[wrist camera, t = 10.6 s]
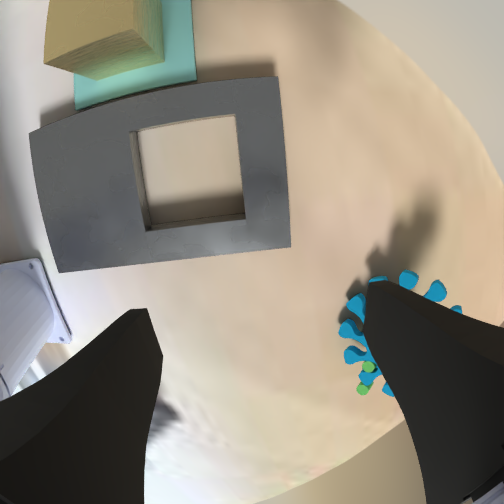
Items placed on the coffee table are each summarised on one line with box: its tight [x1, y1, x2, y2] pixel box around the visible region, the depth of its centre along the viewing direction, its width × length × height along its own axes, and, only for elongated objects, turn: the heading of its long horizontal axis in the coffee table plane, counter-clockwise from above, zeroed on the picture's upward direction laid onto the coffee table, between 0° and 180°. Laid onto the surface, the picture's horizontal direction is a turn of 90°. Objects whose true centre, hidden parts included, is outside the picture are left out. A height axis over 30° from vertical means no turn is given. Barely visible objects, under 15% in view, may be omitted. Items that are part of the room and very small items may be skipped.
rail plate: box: [29, 76, 291, 273], centre depth 16 cm, size 16×10×1 cm, turn 95°
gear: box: [339, 269, 462, 397], centre depth 20 cm, size 11×6×10 cm
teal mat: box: [74, 0, 197, 110], centre depth 13 cm, size 8×8×1 cm
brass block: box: [44, 0, 165, 81], centre depth 10 cm, size 4×4×6 cm
